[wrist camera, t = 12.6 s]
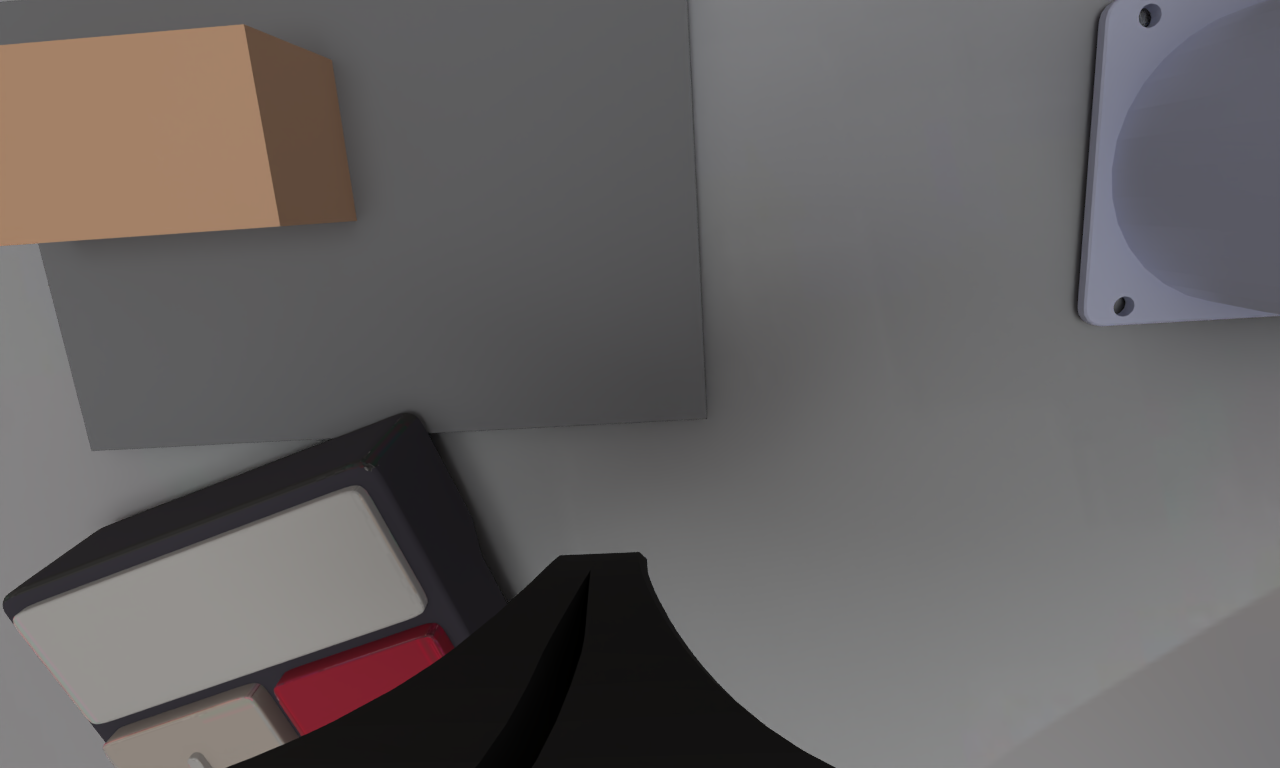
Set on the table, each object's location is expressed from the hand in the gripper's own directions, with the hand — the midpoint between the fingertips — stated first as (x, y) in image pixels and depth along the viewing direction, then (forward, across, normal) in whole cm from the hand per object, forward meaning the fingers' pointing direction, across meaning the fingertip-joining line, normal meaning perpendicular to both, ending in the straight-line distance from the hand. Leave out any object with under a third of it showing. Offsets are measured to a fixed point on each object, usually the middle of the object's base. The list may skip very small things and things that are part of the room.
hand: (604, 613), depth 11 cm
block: (+8, +7, -8) cm, 13 cm away
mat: (+10, +7, -6) cm, 14 cm away
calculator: (+10, +9, +8) cm, 16 cm away
